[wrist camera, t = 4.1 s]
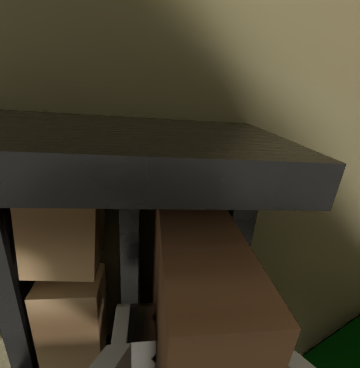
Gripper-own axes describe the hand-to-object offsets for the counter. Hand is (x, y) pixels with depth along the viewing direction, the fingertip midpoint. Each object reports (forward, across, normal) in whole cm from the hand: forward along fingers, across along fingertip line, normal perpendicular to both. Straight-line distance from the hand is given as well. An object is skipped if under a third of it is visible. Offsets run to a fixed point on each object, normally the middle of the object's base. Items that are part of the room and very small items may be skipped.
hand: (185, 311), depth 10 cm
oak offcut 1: (+4, +5, -3) cm, 7 cm away
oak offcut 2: (+4, +5, +3) cm, 7 cm away
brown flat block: (+4, 0, 0) cm, 4 cm away
